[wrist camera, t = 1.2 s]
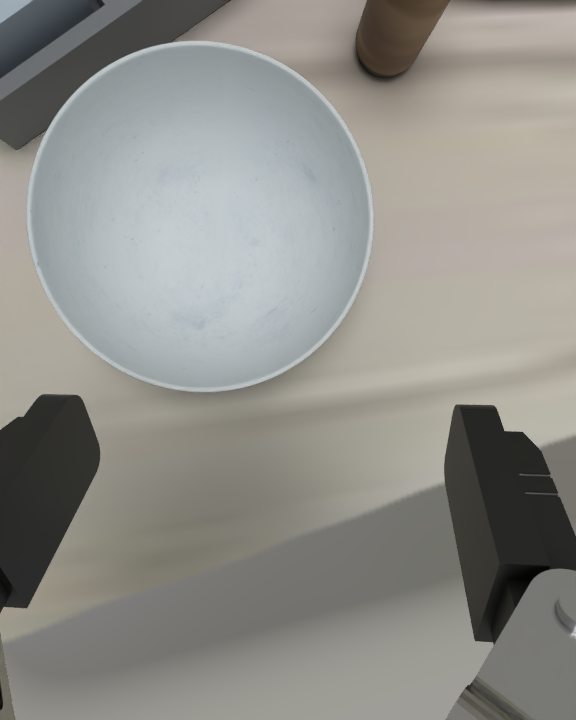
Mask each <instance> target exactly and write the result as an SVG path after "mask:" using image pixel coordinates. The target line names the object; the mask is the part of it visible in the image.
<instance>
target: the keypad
mask: <svg viewBox="0 0 576 720" xmlns="http://www.w3.org/2000/svg"><path fill="white" fill-rule="evenodd" d="M88 1H89V2H90V4H91V6H92V8H93V10H94V11H95V12H94V13H93V14H91V15H90V16H88V17H87V18H86V19H84V20H83V21H81V22H80V23H79V24H77V25H76V26H74V27H73V28H71V29H70V30H69V31H67V32H66V33H64V34H63V35H61V36H60V37H59V38H57V39H56V40H54V41H53V42H52V43H50V44H49V45H47V46H46V47H44V48H43V49H42V50H40V51H39V52H37V53H36V54H34V55H33V56H32V57H30V58H29V59H27V60H26V61H25V62H23V63H22V64H20V65H19V66H17V67H16V68H15V69H13V70H12V71H10V72H9V73H8V74H6V75H5V76H3V77H2V78H0V139H1V140H3V141H4V142H6V143H7V144H9V145H10V146H11V147H13V148H14V149H16V150H18V149H19V148H21V147H22V146H23V145H25V144H26V143H28V142H29V141H30V140H32V139H33V138H35V137H36V136H38V135H39V134H40V133H42V132H43V131H45V130H46V129H48V128H49V126H50V124H51V122H52V121H53V119H54V118H55V116H56V115H57V113H58V112H59V110H60V109H61V108H62V106H63V105H64V104H65V103H66V101H67V100H68V99H69V98H70V97H71V96H72V95H73V93H74V92H75V91H76V90H77V89H78V88H79V87H81V86H82V85H83V84H84V83H85V82H86V81H87V80H88V79H90V78H91V77H92V76H93V75H95V74H96V73H97V72H99V71H100V70H102V69H103V68H105V67H106V66H108V65H110V64H111V63H113V62H115V61H117V60H119V59H121V58H123V57H125V56H127V55H129V54H132V53H134V52H137V51H140V50H142V49H146V48H149V47H152V46H156V45H161V44H166V43H170V42H171V41H173V40H174V39H176V38H177V37H178V36H180V35H181V34H183V33H184V32H186V31H187V30H188V29H190V28H191V27H193V26H194V25H196V24H197V23H198V22H200V21H201V20H203V19H204V18H206V17H207V16H208V15H210V14H211V13H213V12H214V11H215V10H217V9H218V8H220V7H221V6H223V5H224V4H225V3H227V2H228V1H230V0H88Z"/></svg>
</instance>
